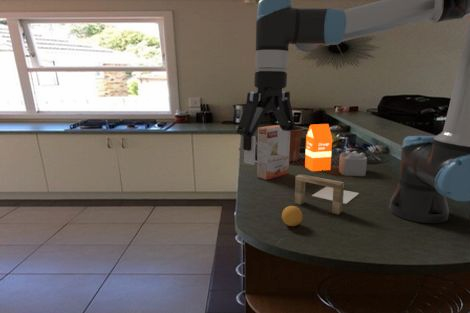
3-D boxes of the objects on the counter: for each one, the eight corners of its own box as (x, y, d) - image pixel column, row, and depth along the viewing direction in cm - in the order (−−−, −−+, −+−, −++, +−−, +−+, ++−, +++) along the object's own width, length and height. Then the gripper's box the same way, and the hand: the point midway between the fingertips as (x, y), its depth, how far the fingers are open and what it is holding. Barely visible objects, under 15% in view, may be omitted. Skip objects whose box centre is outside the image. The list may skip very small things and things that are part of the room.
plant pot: (309, 159, 159) (310, 127, 155) (289, 164, 149) (289, 131, 145) (284, 154, 171) (285, 124, 167) (264, 159, 161) (264, 127, 157)
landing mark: (359, 193, 110) (359, 193, 110) (346, 204, 101) (346, 203, 101) (326, 187, 117) (326, 186, 117) (311, 196, 108) (311, 195, 108)
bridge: (299, 200, 104) (300, 174, 102) (342, 211, 95) (344, 182, 93) (294, 203, 102) (295, 176, 100) (338, 214, 93) (340, 184, 91)
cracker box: (267, 181, 125) (267, 128, 120) (256, 177, 130) (256, 127, 125) (289, 174, 134) (291, 125, 129) (279, 171, 139) (279, 123, 134)
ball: (305, 224, 87) (306, 205, 86) (295, 231, 83) (296, 212, 81) (288, 219, 90) (288, 201, 89) (277, 226, 86) (278, 207, 85)
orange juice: (330, 169, 139) (333, 124, 135) (312, 171, 138) (314, 125, 133) (322, 165, 147) (324, 122, 142) (304, 166, 145) (306, 123, 140)
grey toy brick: (341, 175, 131) (342, 155, 129) (336, 167, 144) (337, 148, 142) (367, 176, 129) (369, 155, 127) (360, 168, 142) (362, 149, 140)
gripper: (287, 72, 85) (282, 149, 90) (221, 68, 67) (220, 164, 72) (312, 72, 80) (305, 153, 85) (248, 68, 62) (245, 171, 67)
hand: (266, 159), depth 79 cm, fingers open, 13 cm apart
